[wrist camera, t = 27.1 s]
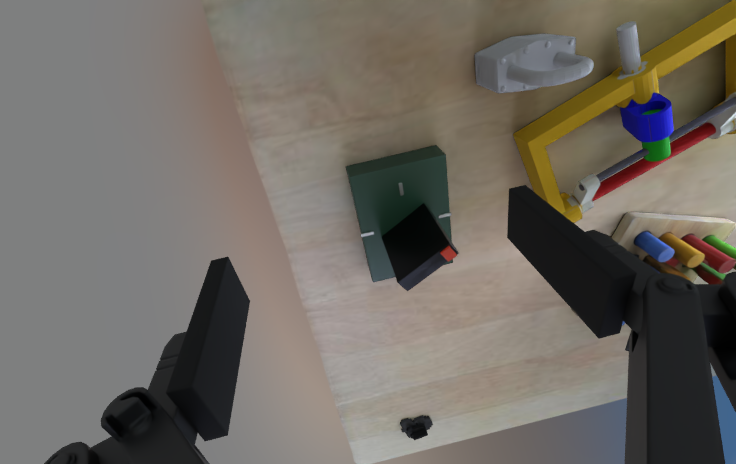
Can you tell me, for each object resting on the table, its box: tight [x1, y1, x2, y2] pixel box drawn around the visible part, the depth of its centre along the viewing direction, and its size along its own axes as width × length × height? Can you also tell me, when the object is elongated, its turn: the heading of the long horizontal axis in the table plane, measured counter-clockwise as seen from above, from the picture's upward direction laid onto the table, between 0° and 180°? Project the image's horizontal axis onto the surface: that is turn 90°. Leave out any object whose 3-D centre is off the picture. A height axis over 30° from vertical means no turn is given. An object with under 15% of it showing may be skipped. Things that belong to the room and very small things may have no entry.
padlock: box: [475, 34, 594, 93], centre depth 32 cm, size 7×4×10 cm, turn 103°
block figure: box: [400, 415, 433, 440], centre depth 66 cm, size 6×2×6 cm
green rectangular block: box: [346, 145, 453, 282], centre depth 41 cm, size 14×10×3 cm
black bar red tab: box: [382, 203, 458, 291], centre depth 37 cm, size 6×2×8 cm, turn 130°
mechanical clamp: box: [513, 0, 736, 223], centre depth 38 cm, size 18×6×30 cm
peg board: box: [571, 212, 736, 325], centre depth 51 cm, size 18×17×9 cm
